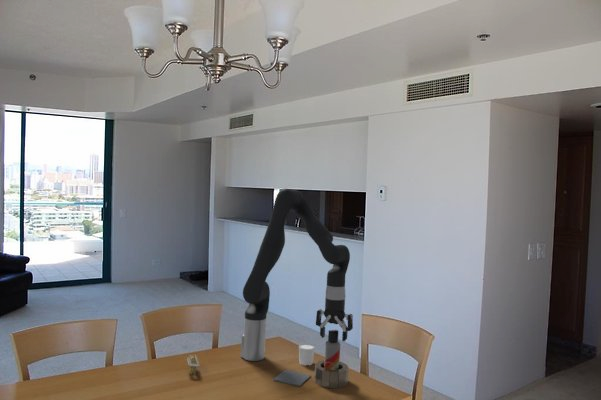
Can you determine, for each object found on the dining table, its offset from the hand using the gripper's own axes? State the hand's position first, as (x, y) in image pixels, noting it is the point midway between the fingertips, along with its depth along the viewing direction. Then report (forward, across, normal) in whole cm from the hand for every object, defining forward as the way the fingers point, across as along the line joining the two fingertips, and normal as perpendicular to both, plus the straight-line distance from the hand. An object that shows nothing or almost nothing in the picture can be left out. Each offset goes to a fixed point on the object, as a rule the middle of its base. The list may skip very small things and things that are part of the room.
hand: (333, 339), depth 188 cm
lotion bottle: (+17, 0, 0) cm, 17 cm away
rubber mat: (+16, -14, -5) cm, 22 cm away
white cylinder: (+16, -16, +13) cm, 26 cm away
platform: (+17, -51, -20) cm, 57 cm away
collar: (+16, 0, 0) cm, 17 cm away
